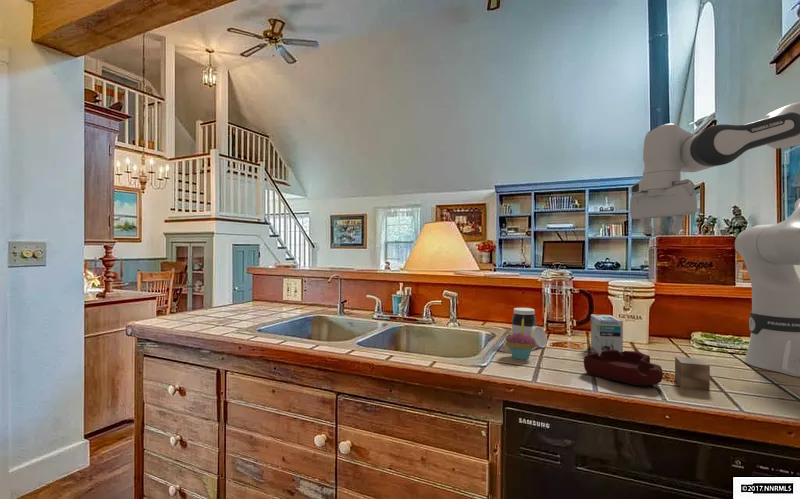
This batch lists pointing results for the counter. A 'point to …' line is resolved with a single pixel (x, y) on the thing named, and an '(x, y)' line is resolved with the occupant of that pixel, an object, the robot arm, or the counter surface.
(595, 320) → the light bulb box
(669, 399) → the counter surface
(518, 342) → the cupcake
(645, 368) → the ashtray
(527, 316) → the spread jar
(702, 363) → the grey-brown cube
